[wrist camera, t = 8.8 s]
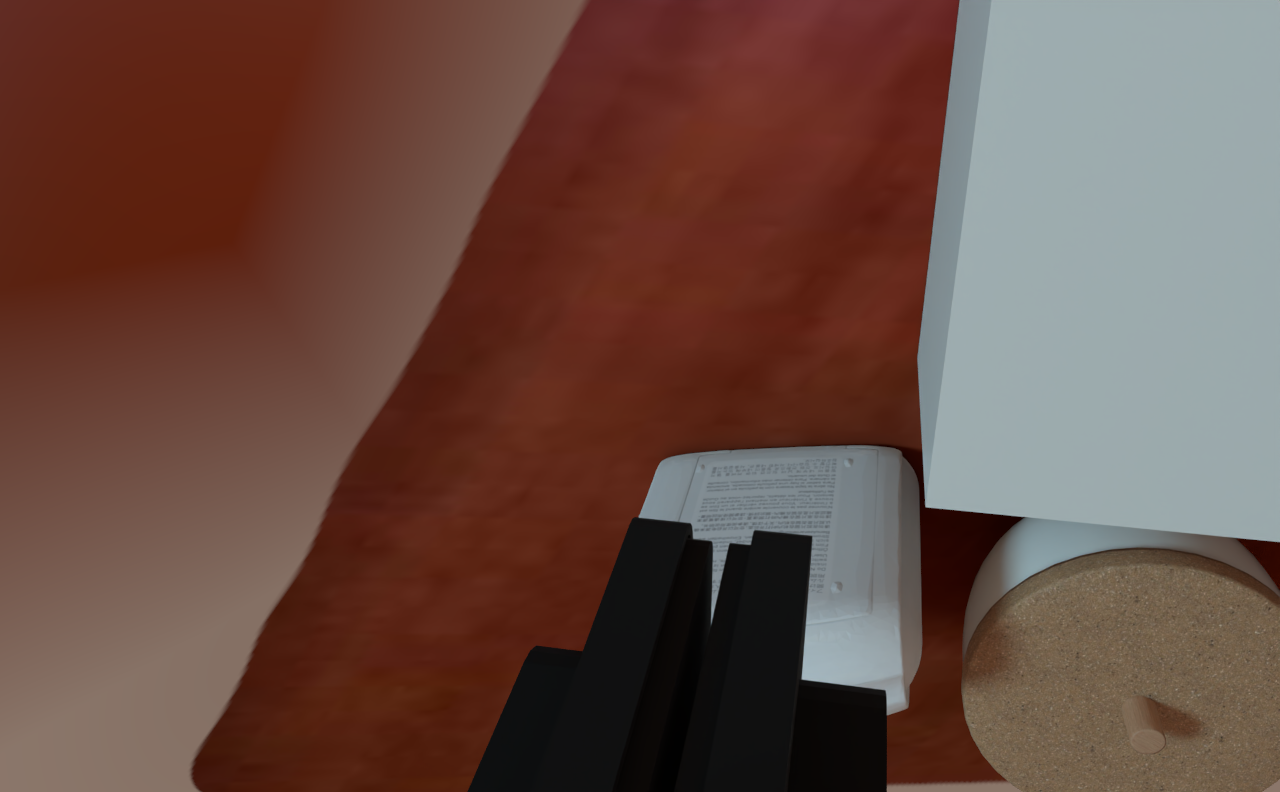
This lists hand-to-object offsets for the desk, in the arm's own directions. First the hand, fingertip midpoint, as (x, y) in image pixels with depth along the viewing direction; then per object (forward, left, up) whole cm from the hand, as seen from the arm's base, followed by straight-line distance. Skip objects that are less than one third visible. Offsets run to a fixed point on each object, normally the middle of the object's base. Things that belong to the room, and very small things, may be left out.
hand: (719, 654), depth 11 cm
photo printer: (+1, +16, -29) cm, 33 cm away
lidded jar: (-11, +18, -29) cm, 36 cm away
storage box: (-8, +2, -29) cm, 30 cm away
